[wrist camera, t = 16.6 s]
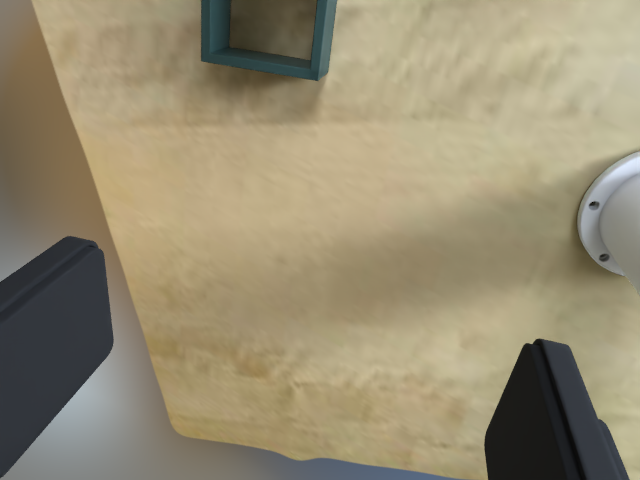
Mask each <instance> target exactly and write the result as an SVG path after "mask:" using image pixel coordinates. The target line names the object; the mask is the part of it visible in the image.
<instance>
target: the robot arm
mask: <svg viewBox="0 0 640 480" xmlns="http://www.w3.org/2000/svg"><path fill="white" fill-rule="evenodd" d="M593 201H594V203H593V204H590V203H591V202H593ZM577 227H578V232H579V237H580V239H581V241H582V243H583V245H584V248H585V249H586V251H587V252H588V253H589V255H590V256H591V257H592V258H593V260H594V261H595V262H596V263H598V264H599V265H601V266H602V267H604V268H605V269H607V270H609V271H611V272H614V273H616V274H619V275H622V276H626V277H627V278H628V280H629V281H630V283H631V284H632V286H633V287H634V288H635V290H636V291H637V293H638V294H639V296H640V151H638V152H635V153H633V154H631V155H629V156H627V157H625V158H623V159H621V160H619V161H617V162H616V163H614V164H613V165H612V166H610V167H609V168H607V169H606V170H605V171H604V172H603V173H602V174H601V175H600V176H599V177H598V178H596V179H595V181H594V182H593V183H592V185H591V186H590V187H589V189H588V190H587V191H586V193H585V196H584V198H583V200H582V202H581V204H580V208H579V212H578V223H577ZM112 346H113V331H112V323H111V313H110V304H109V295H108V287H107V278H106V268H105V259H104V253H103V251H102V250H101V249H99V248H98V246H97V244H96V243H95V242H94V241H90V240H86V239H81V238H77V237H72V236H68V237H65V238H63V239H62V240H60V241H59V242H57V243H56V244H55V245H53V246H52V247H50V248H49V249H47V250H46V251H45V252H43V253H42V254H40V255H39V256H37V257H36V258H34V259H33V260H31V261H30V262H29V263H27V264H26V265H24V266H23V267H22V268H20V269H18V270H17V271H16V272H14V273H13V274H11V275H10V276H9V277H7V278H6V279H4V280H3V281H1V282H0V478H1V477H3V476H4V475H5V474H6V473H7V472H8V471H9V469H10V468H11V467H12V466H13V465H14V464H15V463H16V461H17V460H18V459H19V458H20V457H21V456H22V454H23V453H24V452H25V451H26V450H27V448H29V446H30V445H31V444H32V443H33V442H34V441H35V439H36V438H37V437H38V436H39V435H40V433H42V431H43V430H44V429H45V428H46V427H47V426H48V424H49V423H50V422H51V421H52V420H53V419H54V417H55V416H56V415H57V414H58V413H59V412H60V411H61V409H62V408H63V407H64V406H65V405H66V404H67V402H68V401H69V400H70V399H71V398H72V397H73V395H74V394H75V393H76V392H77V391H78V390H79V389H80V387H81V386H82V385H83V384H84V383H85V382H86V381H87V379H88V378H89V377H90V376H91V375H92V374H93V372H94V371H95V370H96V369H97V368H98V367H99V366H100V364H101V363H102V362H103V361H104V360H105V359H106V357H107V356H108V355H109V353H110V351H111V349H112ZM484 446H485V456H486V464H487V473H488V480H630V479H629V477H628V475H627V472H626V470H625V467H624V465H623V462H622V460H621V457H620V455H619V453H618V450H617V448H616V445H615V443H614V440H613V438H612V435H611V433H610V431H609V429H608V427H607V425H606V424H605V423H604V422H603V421H602V420H600V419H598V418H597V415H596V413H595V410H594V408H593V405H592V403H591V400H590V397H589V395H588V392H587V390H586V387H585V385H584V382H583V380H582V377H581V375H580V372H579V369H578V367H577V364H576V362H575V359H574V357H573V354H572V352H571V349H570V347H569V346H568V345H566V344H562V343H557V342H553V341H548V340H544V339H536V340H535V341H534V343H533V344H529V343H526V344H525V345H524V346H523V348H522V350H521V352H520V355H519V357H518V359H517V362H516V364H515V366H514V369H513V371H512V373H511V375H510V378H509V380H508V382H507V385H506V387H505V389H504V392H503V394H502V396H501V399H500V401H499V403H498V406H497V408H496V410H495V413H494V415H493V417H492V419H491V422H490V424H489V426H488V429H487V431H486V435H485V444H484Z"/></svg>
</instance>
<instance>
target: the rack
mask: <svg viewBox="0 0 640 480" xmlns="http://www.w3.org/2000/svg"><path fill="white" fill-rule="evenodd" d="M336 4H337V0H317V8H316V17H315V27H314V36H313V45H312V54H311V60H306V59H300V58H294V57H288V56H281V55H275V54H269V53H263V52H257V51H251V50H245V49H239V48H233V47H229V40H230V6H231V0H201V61H202V62H208V63H214V64H220V65H226V66H232V67H238V68H244V69H250V70H256V71H262V72H268V73H274V74H280V75H286V76H291V77H297V78H303V79H309V80H315V81H318V80H319V79H321V78H322V77H323V76H324V75H325V74H326V73H328V68H329V60H330V52H331V44H332V36H333V28H334V20H335V12H336Z"/></svg>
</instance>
